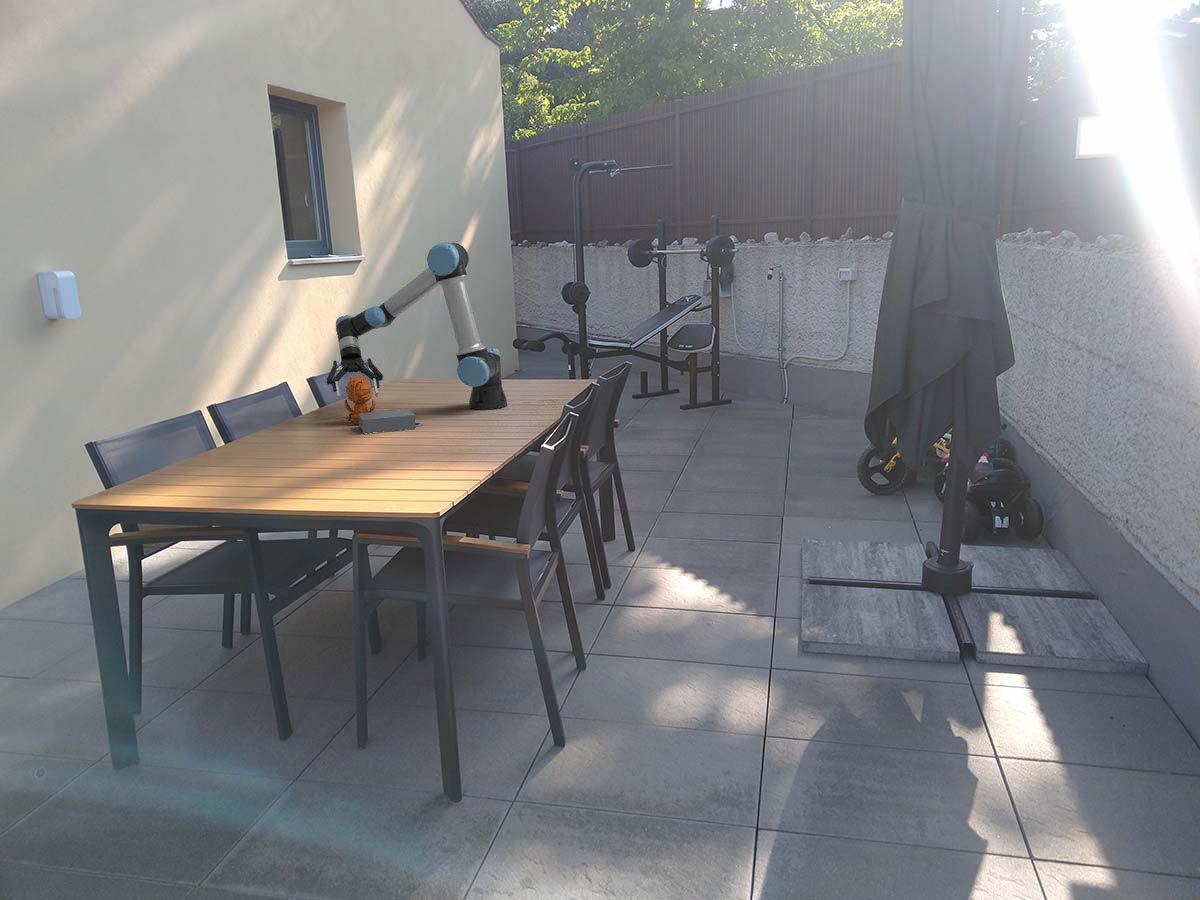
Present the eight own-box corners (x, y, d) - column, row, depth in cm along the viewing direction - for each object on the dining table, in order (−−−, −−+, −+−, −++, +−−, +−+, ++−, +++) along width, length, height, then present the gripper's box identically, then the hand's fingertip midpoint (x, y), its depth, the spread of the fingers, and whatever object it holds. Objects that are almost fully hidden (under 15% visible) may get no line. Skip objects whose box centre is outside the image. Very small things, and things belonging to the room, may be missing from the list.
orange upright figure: (382, 420, 338) (377, 372, 334) (372, 425, 327) (367, 376, 323) (353, 420, 339) (348, 373, 335) (342, 426, 328) (337, 377, 324)
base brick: (409, 422, 331) (408, 409, 330) (416, 428, 318) (415, 415, 317) (359, 427, 325) (358, 413, 324) (363, 434, 312) (362, 420, 311)
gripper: (383, 355, 349) (391, 399, 338) (316, 360, 340) (322, 405, 330) (384, 342, 343) (392, 387, 332) (315, 347, 334) (322, 392, 324)
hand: (357, 396), depth 331 cm, fingers open, 13 cm apart
